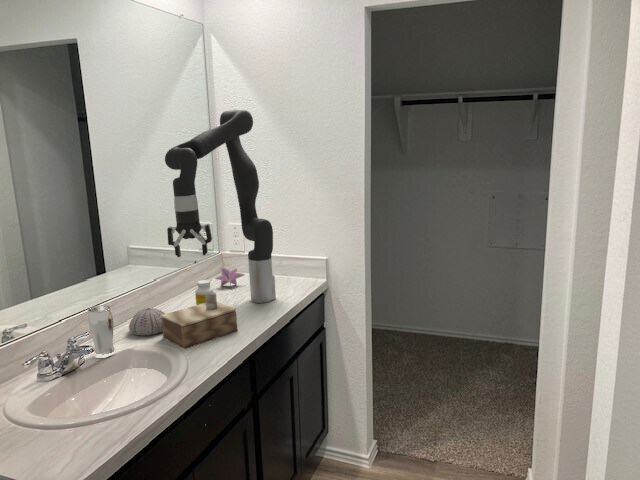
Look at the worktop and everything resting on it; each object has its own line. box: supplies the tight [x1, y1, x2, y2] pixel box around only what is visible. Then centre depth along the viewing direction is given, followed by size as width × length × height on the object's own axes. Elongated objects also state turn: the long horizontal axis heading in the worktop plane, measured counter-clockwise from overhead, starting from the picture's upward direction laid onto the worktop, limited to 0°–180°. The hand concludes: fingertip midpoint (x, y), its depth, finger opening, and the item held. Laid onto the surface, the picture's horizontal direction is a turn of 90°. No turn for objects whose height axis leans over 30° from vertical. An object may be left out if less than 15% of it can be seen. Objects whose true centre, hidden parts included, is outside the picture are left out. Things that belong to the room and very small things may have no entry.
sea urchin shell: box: [128, 307, 166, 336], centre depth 176 cm, size 13×14×8 cm
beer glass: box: [87, 304, 116, 355], centre depth 156 cm, size 7×7×15 cm
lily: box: [214, 267, 246, 290], centre depth 225 cm, size 12×12×10 cm
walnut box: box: [162, 310, 238, 350], centre depth 171 cm, size 20×14×7 cm
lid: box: [161, 292, 237, 327], centre depth 170 cm, size 20×14×6 cm
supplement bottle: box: [194, 279, 215, 306], centre depth 190 cm, size 7×7×13 cm
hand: (191, 255), depth 173 cm, fingers open, 8 cm apart
